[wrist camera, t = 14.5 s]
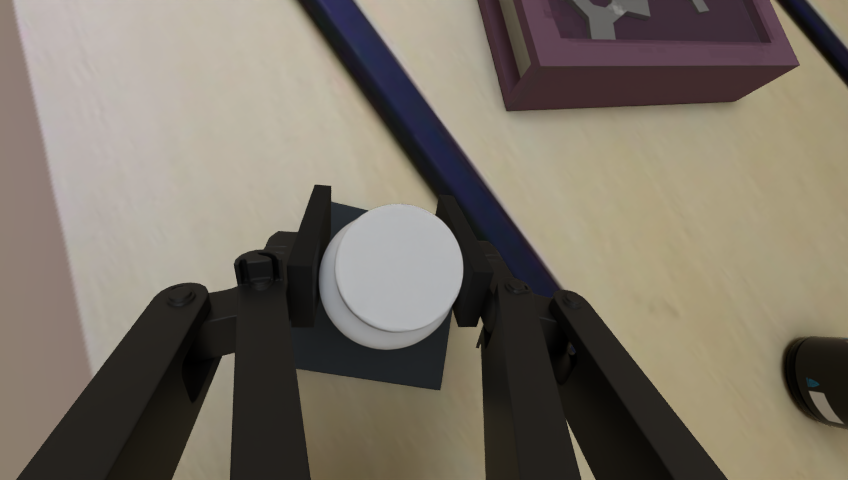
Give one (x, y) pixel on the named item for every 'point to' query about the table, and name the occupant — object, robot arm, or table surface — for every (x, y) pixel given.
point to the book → (633, 51)
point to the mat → (345, 357)
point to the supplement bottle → (391, 276)
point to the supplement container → (820, 378)
